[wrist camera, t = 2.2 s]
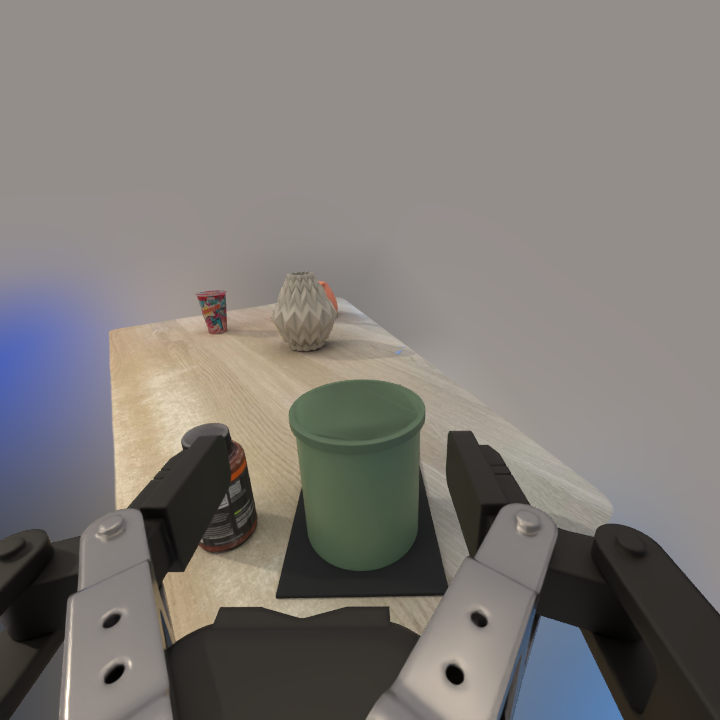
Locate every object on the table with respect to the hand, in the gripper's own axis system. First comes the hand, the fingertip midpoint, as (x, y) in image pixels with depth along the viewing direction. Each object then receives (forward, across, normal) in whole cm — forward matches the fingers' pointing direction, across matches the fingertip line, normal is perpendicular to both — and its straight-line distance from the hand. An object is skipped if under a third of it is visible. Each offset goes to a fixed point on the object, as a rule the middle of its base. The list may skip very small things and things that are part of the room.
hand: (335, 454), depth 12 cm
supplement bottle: (+17, +14, +20) cm, 30 cm away
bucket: (+17, 0, +20) cm, 26 cm away
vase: (+75, +15, +20) cm, 79 cm away
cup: (+93, +45, +20) cm, 105 cm away
